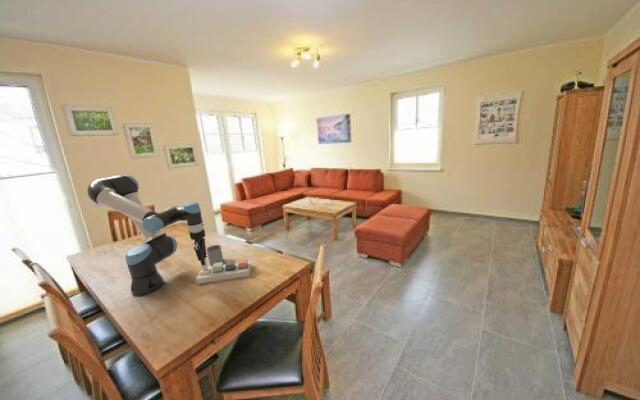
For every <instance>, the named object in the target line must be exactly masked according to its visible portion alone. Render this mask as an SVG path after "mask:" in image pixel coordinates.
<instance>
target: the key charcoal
mask: <svg viewBox="0 0 640 400" xmlns="http://www.w3.org/2000/svg"><path fill="white" fill-rule="evenodd" d="M236 263H237V262H236V260H228V261H226V262H225V268H226V269H227V271H232V270H235V264H236Z"/></svg>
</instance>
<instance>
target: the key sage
mask: <svg viewBox="0 0 640 400" xmlns="http://www.w3.org/2000/svg"><path fill="white" fill-rule="evenodd" d="M223 265H224V261H223V262H220V263H214V264H213V265H212V266H213V267H212V270H213V271H214V273H219V272H222V270H223Z"/></svg>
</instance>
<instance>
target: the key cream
mask: <svg viewBox="0 0 640 400" xmlns="http://www.w3.org/2000/svg"><path fill="white" fill-rule="evenodd" d="M210 272H211V266H208V269H207V270H202V268H201V269H200V271H199V273H200V275H206V274H210Z"/></svg>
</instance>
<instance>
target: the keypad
mask: <svg viewBox="0 0 640 400" xmlns="http://www.w3.org/2000/svg"><path fill="white" fill-rule="evenodd" d="M235 263H236V264H235V270H232V271H227V269H226V268H225V264H226V263H225V264H224V263H223V270H222V272H219V273H214V271H213V270H212V267H213V265H210V267H211V272H210V274H206V275H200V272H199V273H198V274H197V276H196V279H195V280H196V284H197V285H202V284H204V285H205V284H208V283H215V282H221V281H227V280H233V279H234V280H235V279H241V278H248V277H250V275H251V269H252V261H251V260H248V264H247V268H245V269H239V267H238V262H235Z"/></svg>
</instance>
